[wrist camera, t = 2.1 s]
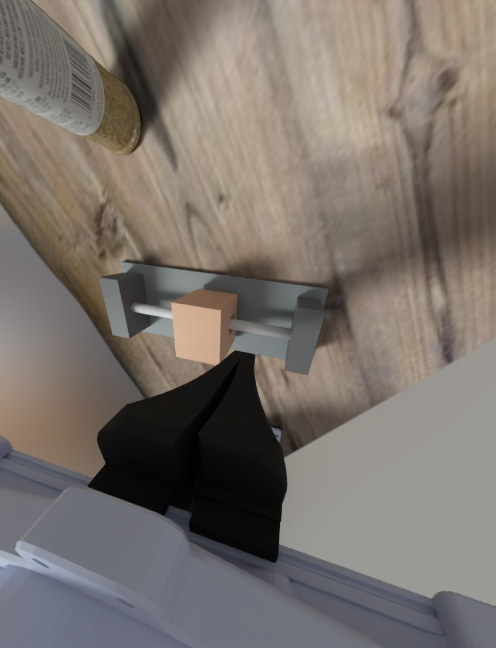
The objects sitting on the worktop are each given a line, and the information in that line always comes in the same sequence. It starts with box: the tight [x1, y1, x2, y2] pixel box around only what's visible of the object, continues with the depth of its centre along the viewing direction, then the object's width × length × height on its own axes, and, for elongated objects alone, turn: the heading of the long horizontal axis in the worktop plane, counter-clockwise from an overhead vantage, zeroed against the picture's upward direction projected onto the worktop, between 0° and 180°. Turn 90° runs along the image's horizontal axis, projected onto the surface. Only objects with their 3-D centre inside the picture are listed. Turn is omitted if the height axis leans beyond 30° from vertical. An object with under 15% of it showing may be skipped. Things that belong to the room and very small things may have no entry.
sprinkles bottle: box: [0, 0, 141, 155], centre depth 9 cm, size 5×5×13 cm
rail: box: [99, 262, 329, 375], centre depth 18 cm, size 21×8×4 cm, turn 85°
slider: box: [171, 289, 238, 365], centre depth 17 cm, size 4×5×5 cm
